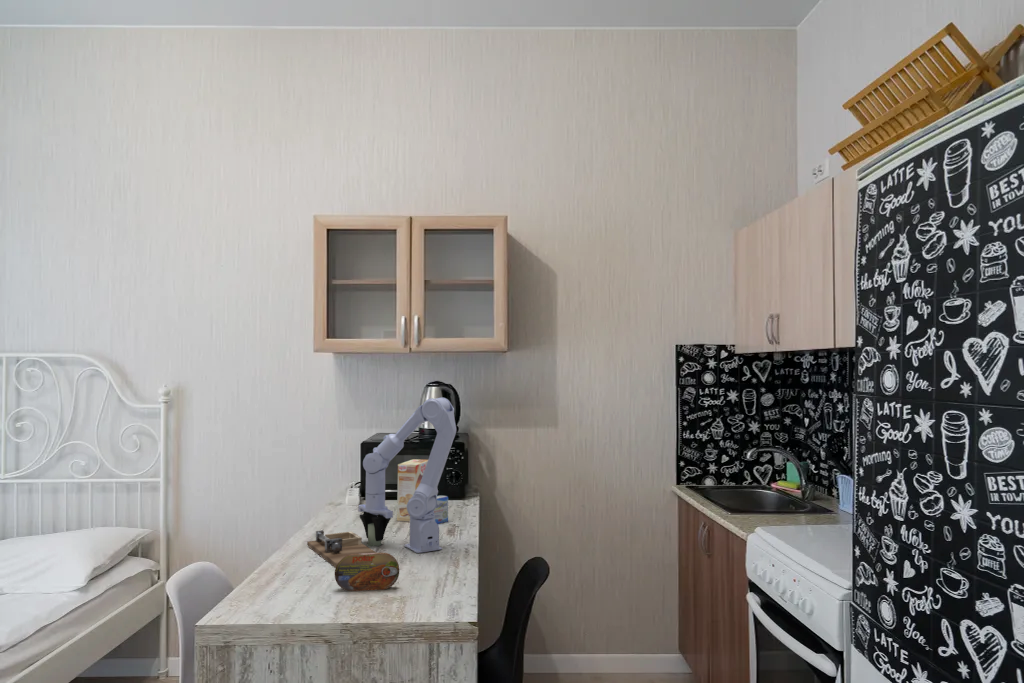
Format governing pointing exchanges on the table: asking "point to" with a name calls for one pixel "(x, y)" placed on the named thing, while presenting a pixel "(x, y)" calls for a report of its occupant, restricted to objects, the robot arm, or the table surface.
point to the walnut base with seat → (349, 546)
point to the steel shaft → (331, 544)
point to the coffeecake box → (408, 484)
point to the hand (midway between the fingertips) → (374, 539)
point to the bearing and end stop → (327, 541)
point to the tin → (367, 572)
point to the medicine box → (441, 510)
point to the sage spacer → (372, 536)
